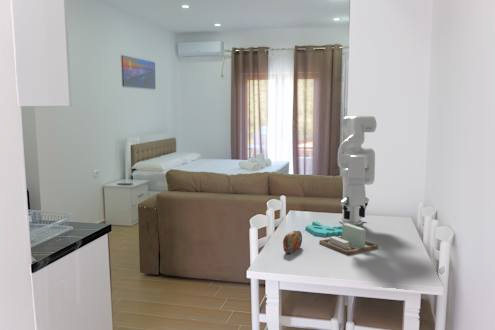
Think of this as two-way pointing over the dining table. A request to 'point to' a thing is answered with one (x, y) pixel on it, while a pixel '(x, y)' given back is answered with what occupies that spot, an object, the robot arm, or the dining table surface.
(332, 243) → the pine offcut
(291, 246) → the tin
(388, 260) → the dining table surface
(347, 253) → the rack
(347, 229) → the sage panel
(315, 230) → the alien figure
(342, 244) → the grey offcut
